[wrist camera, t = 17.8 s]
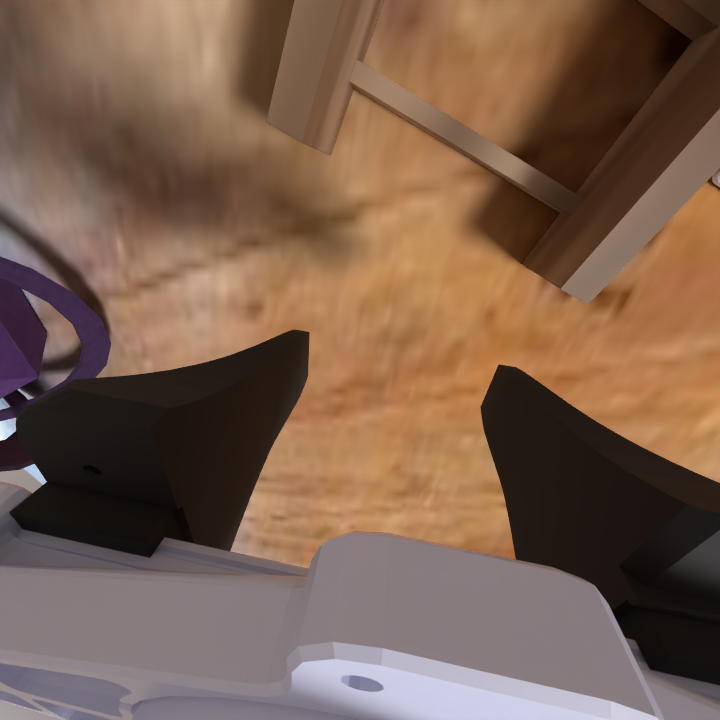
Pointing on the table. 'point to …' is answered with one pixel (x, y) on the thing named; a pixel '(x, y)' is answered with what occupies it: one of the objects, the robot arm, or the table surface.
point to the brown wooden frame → (577, 210)
